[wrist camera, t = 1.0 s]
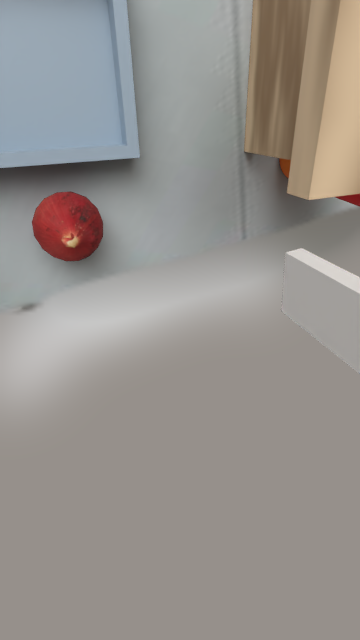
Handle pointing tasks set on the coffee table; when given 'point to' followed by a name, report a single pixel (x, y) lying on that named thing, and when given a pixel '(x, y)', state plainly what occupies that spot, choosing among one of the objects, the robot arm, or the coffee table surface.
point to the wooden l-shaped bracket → (307, 93)
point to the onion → (68, 226)
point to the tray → (66, 82)
